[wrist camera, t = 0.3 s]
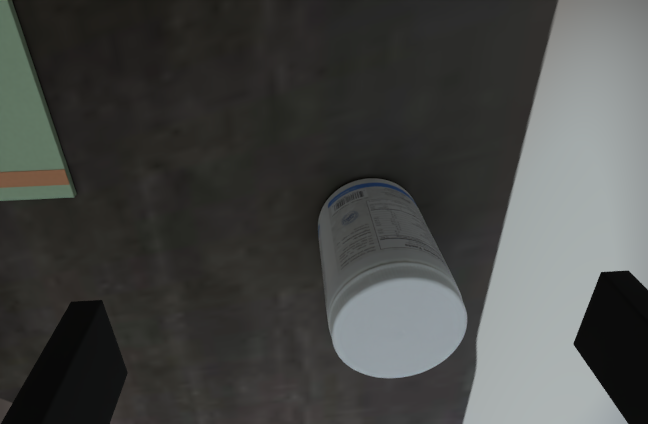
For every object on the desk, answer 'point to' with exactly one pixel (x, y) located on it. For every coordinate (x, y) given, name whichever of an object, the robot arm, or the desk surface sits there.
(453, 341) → the supplement tub
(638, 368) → the robot arm
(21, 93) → the towel
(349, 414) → the desk surface
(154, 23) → the desk surface
